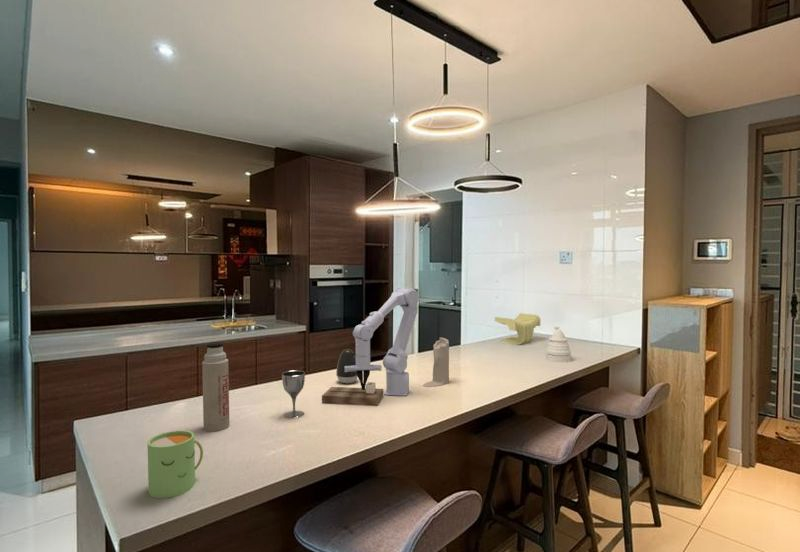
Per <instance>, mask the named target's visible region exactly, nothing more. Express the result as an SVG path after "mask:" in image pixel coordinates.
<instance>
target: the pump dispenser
mask: <svg viewBox="0 0 800 552" xmlns="http://www.w3.org/2000/svg"><path fill="white" fill-rule="evenodd" d="M339 355H340V356H339V358H338V360H337V364H336V365H337V366H336V370H335V371H336V373H335V374H336V377H337V379H338V381H339V382H340V383H342V384H344V383H345V384H346V385H347V384H349V383H350V384H352V383H354V382H357V381H356V380H357V379H358V376H357V373H356V371H350V372H345V366H352V365H356V351H354V352H353V350H351V349H349V348H347V349H343V350H342V351H341V353H340V354H339ZM345 384H344V385H345Z"/></svg>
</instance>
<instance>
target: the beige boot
mask: <svg viewBox="0 0 800 552" xmlns="http://www.w3.org/2000/svg"><path fill="white" fill-rule="evenodd" d="M432 366H433V367H432V368H433V369H432V380H430V381H428V382H425V383H424V384H423V385H422V386H423V387H426V388H431V387H440V386H443V385H447V384H449V383H450V343H449V339H447V338H445V337H439V340H436V341H435V343H434V344H433V365H432Z"/></svg>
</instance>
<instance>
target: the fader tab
mask: <svg viewBox="0 0 800 552" xmlns="http://www.w3.org/2000/svg"><path fill="white" fill-rule="evenodd" d="M376 385H377V384H376V382H366V386H365V388H366V393H371V394H374V392H375V391H376V389H377V388H376V387H377V386H376Z"/></svg>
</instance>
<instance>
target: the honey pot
mask: <svg viewBox="0 0 800 552" xmlns="http://www.w3.org/2000/svg"><path fill="white" fill-rule="evenodd" d="M553 327H554V330H555V331H554V332H553V333H552V335H551V336H550V337H548V344H547V347H546V349H545V350H546V351H545V352H546V353H545V360H546V361H548V362H549V361H550V362H554V363H568V362H571V360H572V359H571V358H572V354H571V352H572V351H571V349H570V345H569V343H568V338H566V336H565V334H564V332H563V331H562V330H561V329H560V326H553Z"/></svg>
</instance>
